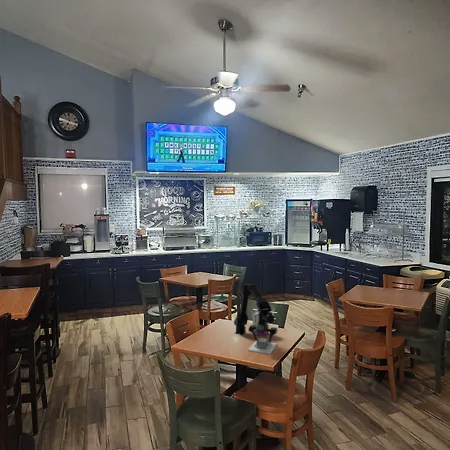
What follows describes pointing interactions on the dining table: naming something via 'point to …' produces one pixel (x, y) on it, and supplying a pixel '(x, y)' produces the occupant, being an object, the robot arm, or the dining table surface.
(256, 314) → the candy bar box
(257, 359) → the dining table surface
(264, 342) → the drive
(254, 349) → the tray
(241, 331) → the robot arm
